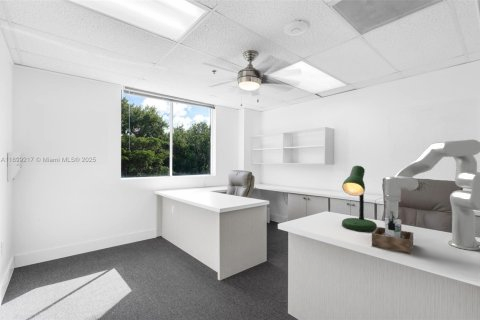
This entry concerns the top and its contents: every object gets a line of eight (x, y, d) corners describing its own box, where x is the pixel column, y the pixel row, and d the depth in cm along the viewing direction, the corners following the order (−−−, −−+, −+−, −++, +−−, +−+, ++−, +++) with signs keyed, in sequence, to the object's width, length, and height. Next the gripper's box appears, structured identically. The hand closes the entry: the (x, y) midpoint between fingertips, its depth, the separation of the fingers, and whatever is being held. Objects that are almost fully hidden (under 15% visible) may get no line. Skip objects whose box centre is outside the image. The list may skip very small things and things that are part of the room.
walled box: (413, 244, 134) (413, 232, 134) (410, 254, 120) (410, 240, 120) (377, 237, 146) (377, 226, 146) (371, 245, 132) (371, 233, 132)
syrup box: (393, 246, 129) (394, 219, 129) (384, 242, 135) (384, 217, 135) (401, 245, 131) (401, 219, 131) (392, 241, 137) (392, 216, 137)
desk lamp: (369, 237, 147) (369, 166, 147) (333, 230, 162) (333, 165, 162) (379, 226, 170) (379, 165, 170) (347, 221, 185) (347, 165, 185)
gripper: (387, 196, 142) (387, 223, 142) (382, 199, 129) (382, 230, 129) (402, 197, 137) (402, 226, 137) (398, 201, 124) (398, 233, 124)
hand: (392, 228), depth 133 cm, fingers open, 9 cm apart
